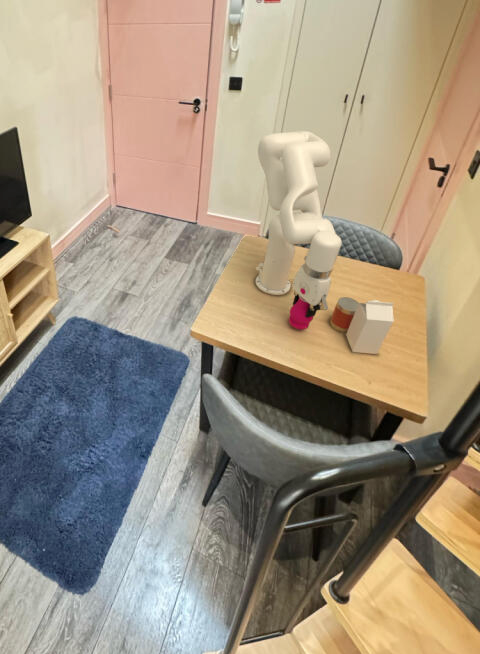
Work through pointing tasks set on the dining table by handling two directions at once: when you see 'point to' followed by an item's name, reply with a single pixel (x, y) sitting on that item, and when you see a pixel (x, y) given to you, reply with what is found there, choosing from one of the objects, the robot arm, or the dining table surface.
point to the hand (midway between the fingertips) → (303, 309)
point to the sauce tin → (343, 313)
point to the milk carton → (370, 326)
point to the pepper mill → (300, 313)
